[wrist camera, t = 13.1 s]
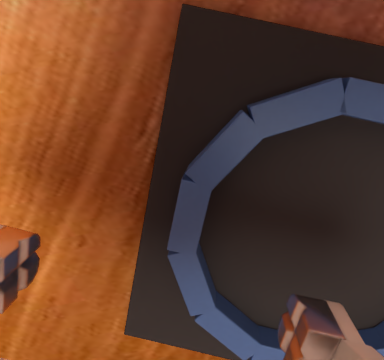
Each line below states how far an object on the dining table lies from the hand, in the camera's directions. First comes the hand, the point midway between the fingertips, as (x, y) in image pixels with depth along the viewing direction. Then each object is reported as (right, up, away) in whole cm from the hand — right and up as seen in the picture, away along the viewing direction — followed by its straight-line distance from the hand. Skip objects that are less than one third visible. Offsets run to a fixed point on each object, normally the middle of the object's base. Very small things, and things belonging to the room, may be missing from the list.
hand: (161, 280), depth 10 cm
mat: (+8, 0, +8) cm, 11 cm away
